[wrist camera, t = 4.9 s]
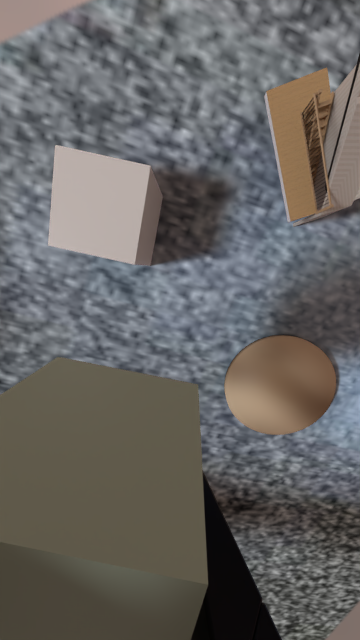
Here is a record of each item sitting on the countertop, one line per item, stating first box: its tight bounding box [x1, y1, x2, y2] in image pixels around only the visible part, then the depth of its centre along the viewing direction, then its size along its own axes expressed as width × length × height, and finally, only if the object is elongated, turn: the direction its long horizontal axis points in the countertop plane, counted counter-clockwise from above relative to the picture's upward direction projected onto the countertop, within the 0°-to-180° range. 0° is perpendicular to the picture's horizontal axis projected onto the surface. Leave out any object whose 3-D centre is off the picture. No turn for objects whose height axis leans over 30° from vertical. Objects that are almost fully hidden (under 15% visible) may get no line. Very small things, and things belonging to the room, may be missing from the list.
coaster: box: [224, 335, 336, 435], centre depth 19 cm, size 9×9×1 cm
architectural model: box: [264, 54, 360, 227], centre depth 12 cm, size 3×7×7 cm, turn 17°
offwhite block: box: [48, 145, 163, 266], centre depth 14 cm, size 5×5×5 cm
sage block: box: [0, 357, 208, 640], centre depth 6 cm, size 5×5×5 cm
